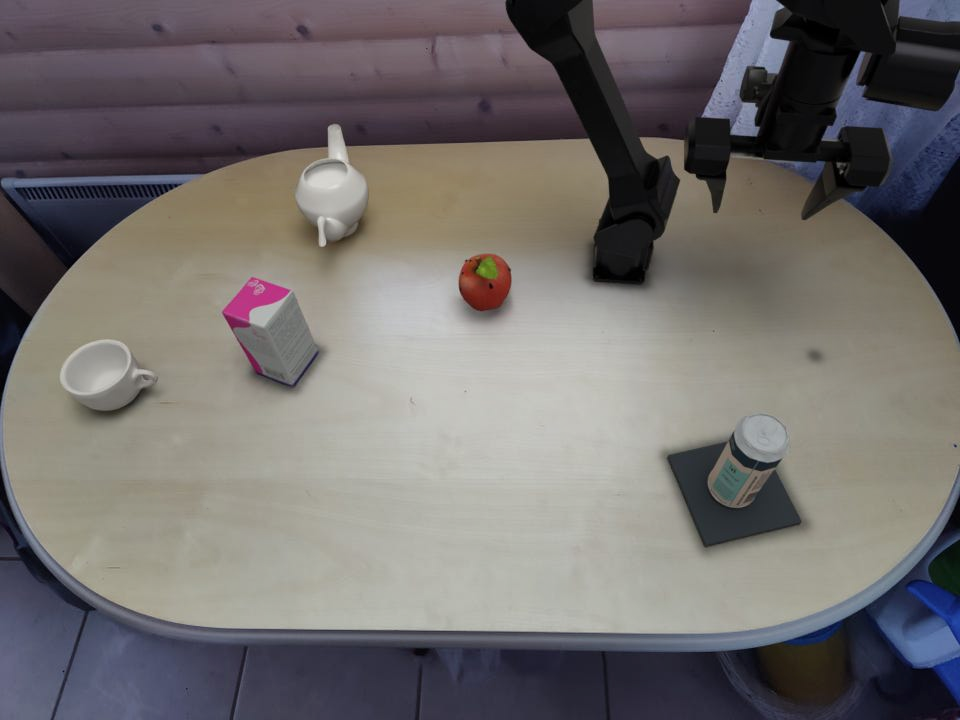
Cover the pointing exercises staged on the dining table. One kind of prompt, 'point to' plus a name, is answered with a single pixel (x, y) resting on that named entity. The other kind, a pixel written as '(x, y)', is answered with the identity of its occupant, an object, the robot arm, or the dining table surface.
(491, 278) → the apple
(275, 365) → the supplement box
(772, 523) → the mat
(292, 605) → the dining table surface
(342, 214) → the teapot
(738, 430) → the cream label cylinder
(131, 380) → the teacup
